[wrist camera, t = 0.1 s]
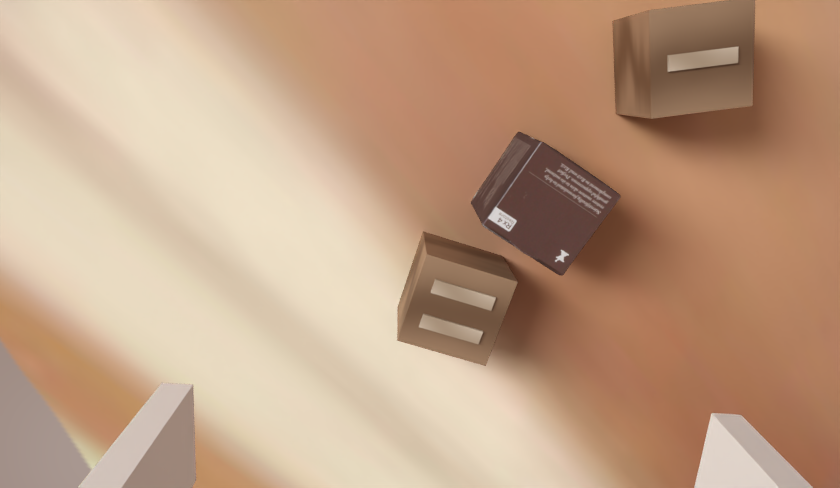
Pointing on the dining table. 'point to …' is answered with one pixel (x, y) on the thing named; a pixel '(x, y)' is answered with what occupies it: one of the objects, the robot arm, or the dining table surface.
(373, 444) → the dining table surface
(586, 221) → the box
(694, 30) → the marked block one
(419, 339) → the marked block two
